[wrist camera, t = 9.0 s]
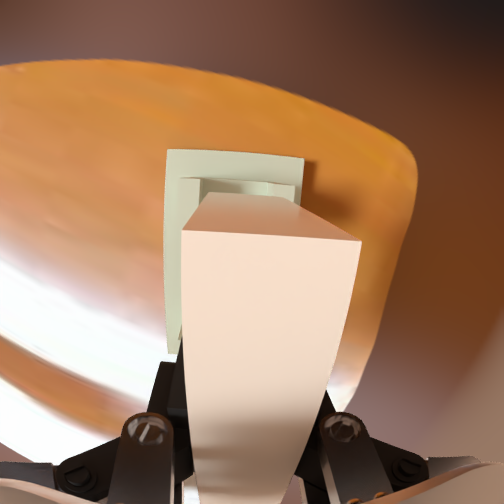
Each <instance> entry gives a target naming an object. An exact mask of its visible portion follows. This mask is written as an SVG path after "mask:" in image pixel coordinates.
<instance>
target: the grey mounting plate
mask: <svg viewBox="0 0 504 504" xmlns="http://www.w3.org/2000/svg"><path fill="white" fill-rule="evenodd" d="M303 169H304V159H303V158H295V157H287V156H278V155H268V154H258V153H246V152H232V151H215V150H190V149H167V162H166V178H165V200H164V296H165V317H166V334H167V347H168V354H178V351H179V347H180V342H181V338H182V307H181V232H182V229H183V227H184V226H185V224H186V223H187V222H188V220H189V219H190V217H191V216H192V215H193V213H194V212H195V210H196V209H197V208H198V206H199V205H200V203H201V202H202V201H203V199H204V198H205V197H206V195H207V194H208V193H209V192H219V193H235V194H250V195H263V196H276V197H284V198H285V199H287V200H289V201H291V202H293V203H295V204H297V205H299V206H300V201H301V191H302V180H303Z"/></svg>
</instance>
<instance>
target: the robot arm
mask: <svg viewBox="0 0 504 504" xmlns="http://www.w3.org/2000/svg"><path fill="white" fill-rule="evenodd" d="M193 472H195V468H194V461H193V454H192V446H191V438H190V429H189V420H188V410H187V399H186V386H185V373H184V357H183V337H182V338H181V342H180V347H179V351H178V356H177V360H176V363H174V362H163V361H161V362H160V365H159V368H158V372H157V375H156V379H155V383H154V386H153V390H152V393H151V397H150V401H149V405H148V409H147V412H142V413H138V414H135V415H133V416H131V417H129V418H128V419H127V420H126V421H125V423H124V425H123V428H122V432H121V436H120V437H118V438H116V439H114V440H112V441H109V442H107V443H105V444H102V445H100V446H98V447H95V448H93V449H91V450H88V451H86V452H83V453H81V454H78V455H76V456H73V457H71V458H68V459H66V460H64V461H63V462H62V463H61V464H60V465H53V464H52V463H29V462H8V461H2V462H0V504H184V480H185V479H187V478H188V477H190V476H191V475H193ZM294 475H296V476H298V481H299V487H300V493H301V499H302V504H504V464H502V463H498V462H482V463H481V462H480V461H479V459H477V458H475V457H473V456H459V457H428V458H427V459H426V460H424V459H423V458H422V457H420V456H419V455H417V454H415V453H412V452H409V451H406V450H403V449H400V448H398V447H395V446H392V445H389V444H387V443H384V442H382V441H379V440H377V439H374V438H371V437H370V435H369V433H368V431H367V429H366V426H365V425H364V423H363V421H362V420H361V419H360V418H358V417H357V416H355V415H353V414H351V413H347V412H336V411H335V409H334V406H333V404H332V402H331V399H330V397H329V395H328V393H327V390H326V391H325V394H324V397H323V400H322V403H321V406H320V408H319V411H318V414H317V417H316V420H315V422H314V425H313V428H312V431H311V433H310V436H309V438H308V441H307V444H306V446H305V449H304V451H303V454H302V456H301V458H300V461H299V463H298V466H297V468H296V470H295V472H294Z"/></svg>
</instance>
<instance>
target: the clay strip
mask: <svg viewBox="0 0 504 504" xmlns="http://www.w3.org/2000/svg"><path fill="white" fill-rule="evenodd" d="M361 244H362V241H360V240H359V239H357V238H355V237H353V236H352V235H350V234H348V233H347V232H345V231H343V230H341V229H340V228H338V227H336V226H334V225H333V224H331V223H329V222H327V221H326V220H324V219H322V218H320V217H319V216H317V215H315V214H313V213H311V212H310V211H308V210H306V209H304V208H302V207H300V206H299V205H297V204H295V203H293V202H291V201H289V200H287V199H285V198H284V197H276V196H263V195H250V194H235V193H219V192H209V193H208V194H207V195H206V197H205V198H204V199H203V201H202V202H201V203H200V205H199V206H198V208H197V209H196V210H195V212H194V213H193V215H192V216H191V217H190V219H189V220H188V222H187V223H186V224H185V226H184V227H183V229H182V232H181V307H182V337H183V357H184V373H185V386H186V399H187V410H188V420H189V429H190V438H191V446H192V454H193V461H194V468H195V475H196V482H197V488H198V494H199V500H200V504H280V503H281V501H282V499H283V496H284V494H285V492H286V490H287V488H288V486H289V484H290V481H291V479H292V477H293V475H294V472H295V470H296V468H297V466H298V463H299V461H300V458H301V456H302V454H303V451H304V449H305V446H306V444H307V441H308V438H309V436H310V433H311V431H312V428H313V425H314V422H315V420H316V417H317V414H318V411H319V408H320V406H321V403H322V400H323V397H324V394H325V391H326V387H327V384H328V381H329V378H330V375H331V371H332V368H333V365H334V361H335V358H336V354H337V351H338V347H339V344H340V340H341V336H342V332H343V328H344V324H345V320H346V316H347V312H348V308H349V304H350V299H351V295H352V290H353V286H354V281H355V276H356V271H357V266H358V261H359V255H360V250H361Z"/></svg>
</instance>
